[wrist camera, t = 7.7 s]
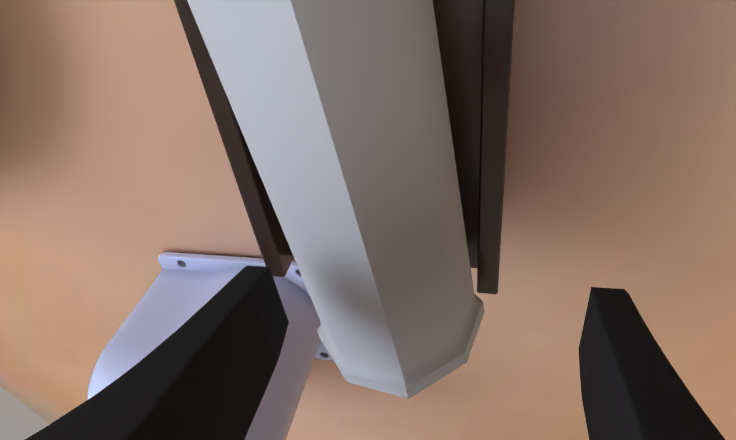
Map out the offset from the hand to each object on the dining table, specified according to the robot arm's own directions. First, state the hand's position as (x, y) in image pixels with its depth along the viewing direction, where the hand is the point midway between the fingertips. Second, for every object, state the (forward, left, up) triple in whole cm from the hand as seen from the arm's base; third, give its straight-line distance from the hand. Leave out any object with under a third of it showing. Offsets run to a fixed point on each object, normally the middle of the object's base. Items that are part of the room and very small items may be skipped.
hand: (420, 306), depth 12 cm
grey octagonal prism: (-2, +8, -6) cm, 10 cm away
